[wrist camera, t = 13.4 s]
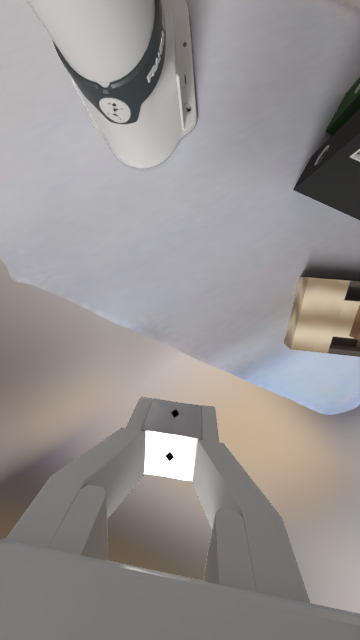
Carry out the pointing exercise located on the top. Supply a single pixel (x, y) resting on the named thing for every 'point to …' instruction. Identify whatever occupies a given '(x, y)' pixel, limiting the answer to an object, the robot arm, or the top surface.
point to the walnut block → (356, 326)
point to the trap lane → (324, 316)
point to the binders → (337, 161)
